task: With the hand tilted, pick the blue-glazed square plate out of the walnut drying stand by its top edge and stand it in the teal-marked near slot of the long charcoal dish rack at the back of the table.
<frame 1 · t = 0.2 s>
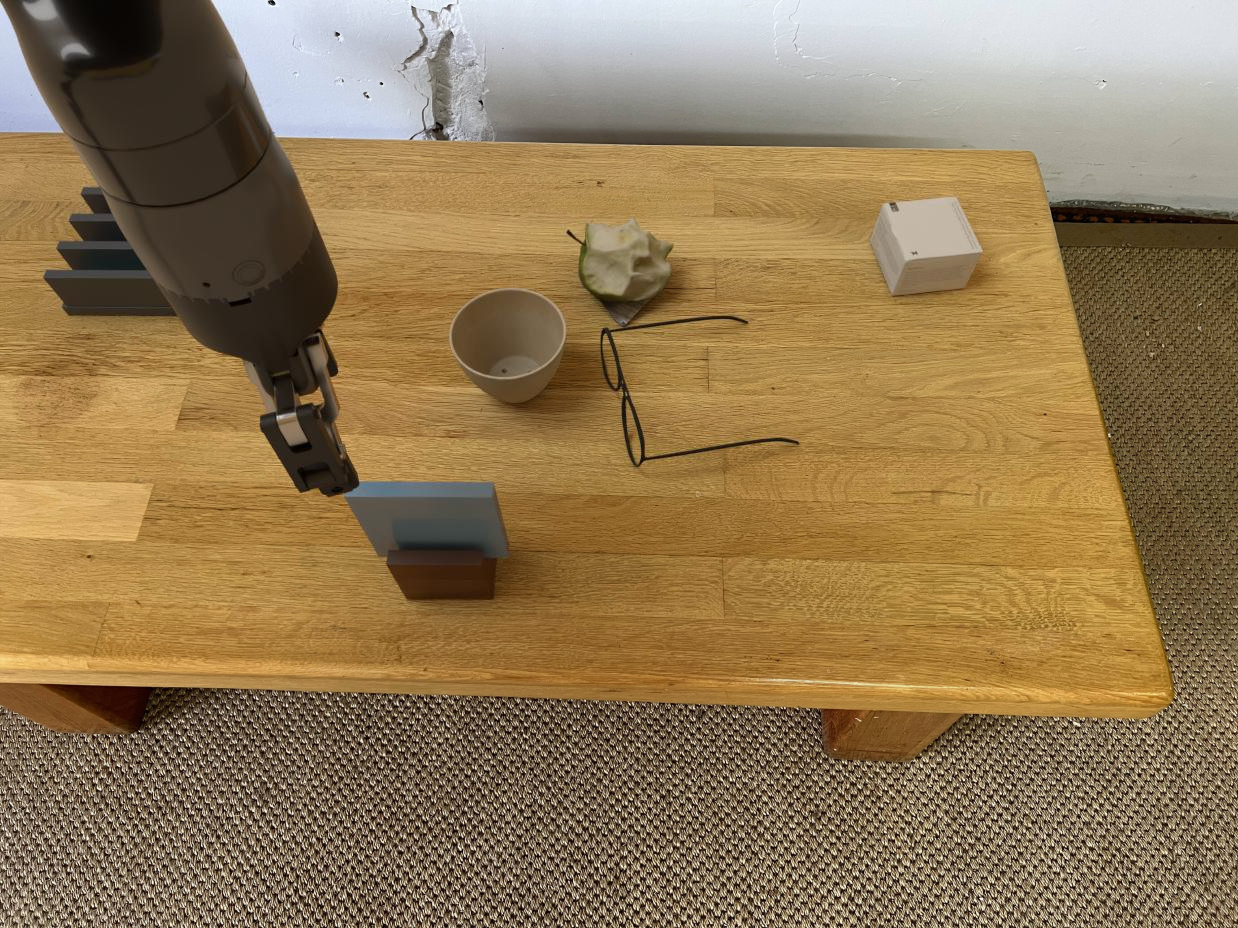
hand: (331, 429, 53), 21 cm above the table, tool pointing down, fingers open, 8 cm apart
flower pot: (516, 381, 80), on the table
plate: (444, 550, 67), point 4 cm above the table, touching stand
small box: (915, 265, 87), on the table
fruit: (621, 285, 86), on the table
glasses: (694, 398, 79), on the table
stand: (452, 570, 70), on the table
rack: (161, 242, 88), on the table
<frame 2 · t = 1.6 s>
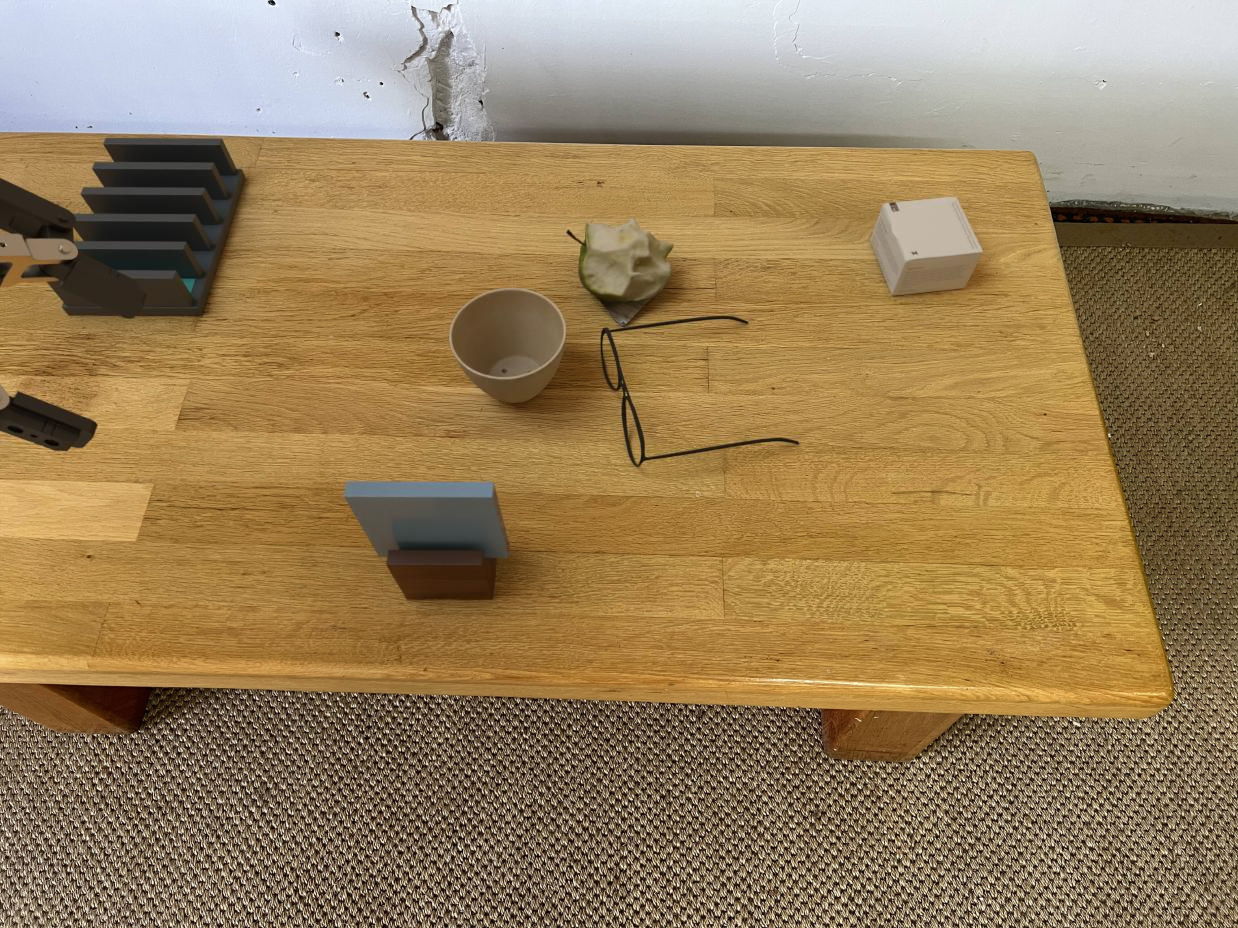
hand: (116, 369, 46), 28 cm above the table, tool tilted 45°, fingers open, 8 cm apart
nothing on the table moved.
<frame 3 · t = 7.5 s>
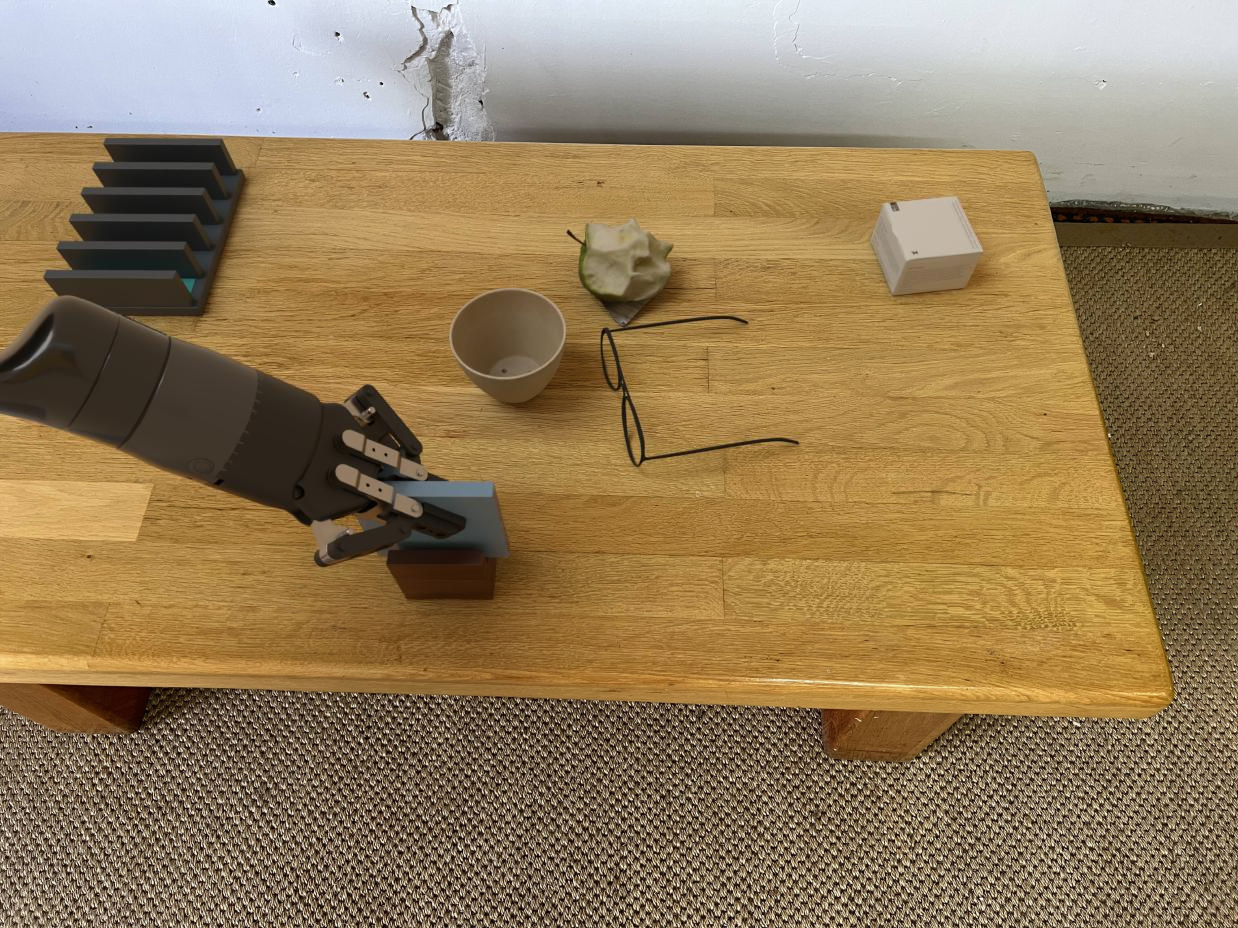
hand: (459, 516, 62), 10 cm above the table, tool tilted 45°, fingers closed on plate, 1 cm apart
plate: (444, 550, 67), point 4 cm above the table, touching gripper, stand
everything else where it was.
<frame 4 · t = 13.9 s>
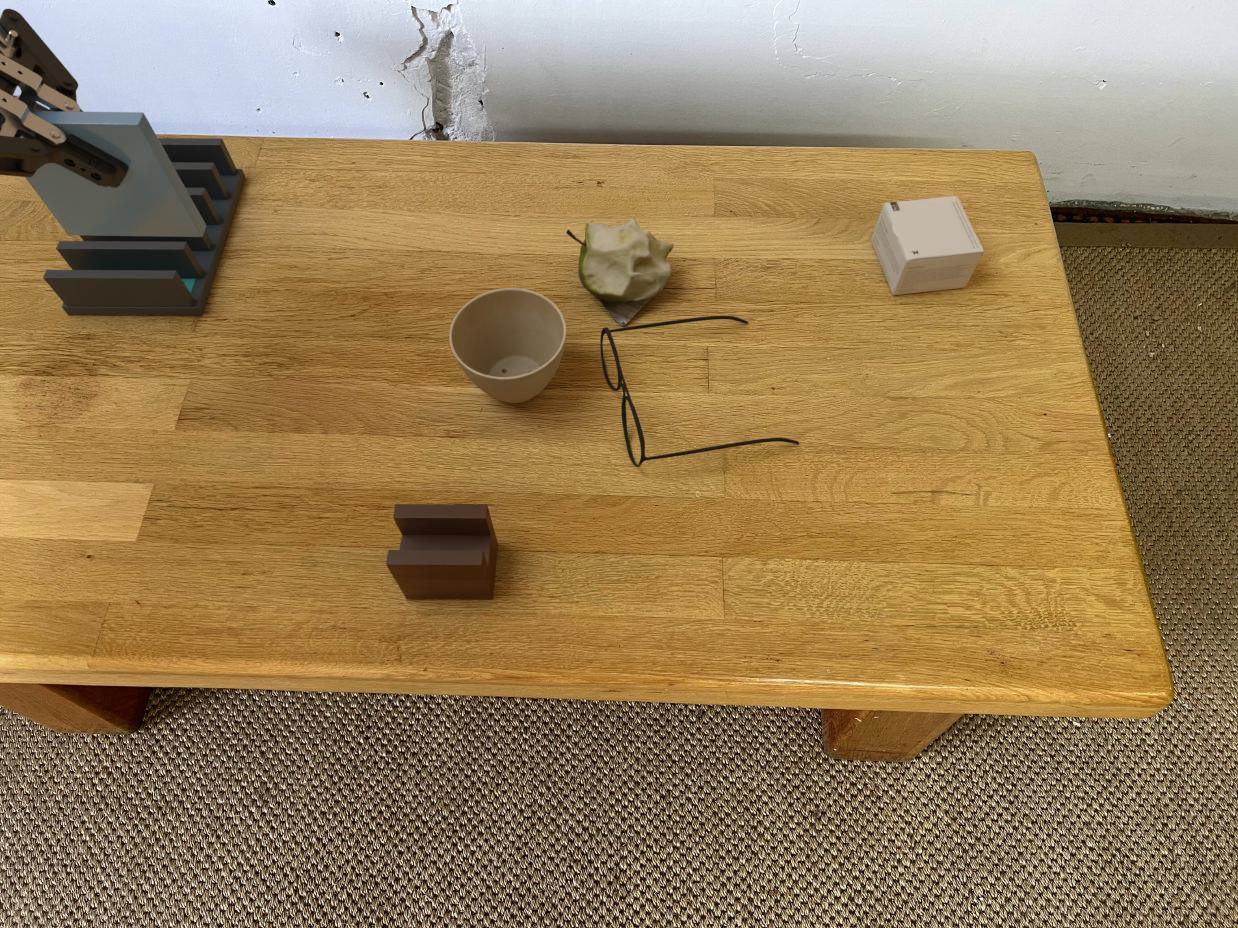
hand: (126, 168, 59), 24 cm above the table, tool tilted 45°, fingers closed on plate, 1 cm apart
plate: (137, 230, 64), point 18 cm above the table, touching gripper
everything else where it was.
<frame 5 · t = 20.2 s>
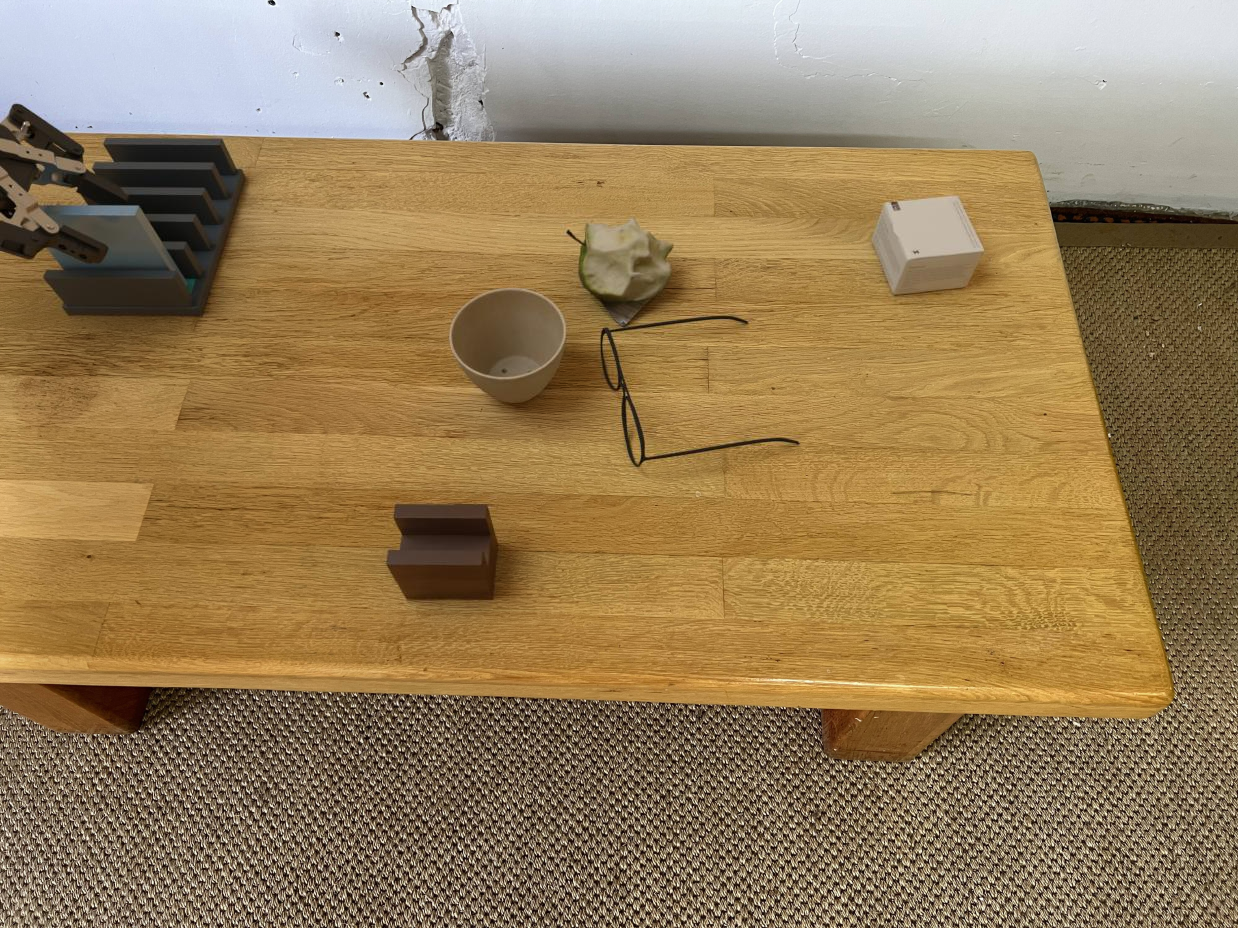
hand: (114, 230, 77), 9 cm above the table, tool tilted 45°, fingers open, 5 cm apart
plate: (135, 288, 84), point 1 cm above the table, touching rack
everything else where it was.
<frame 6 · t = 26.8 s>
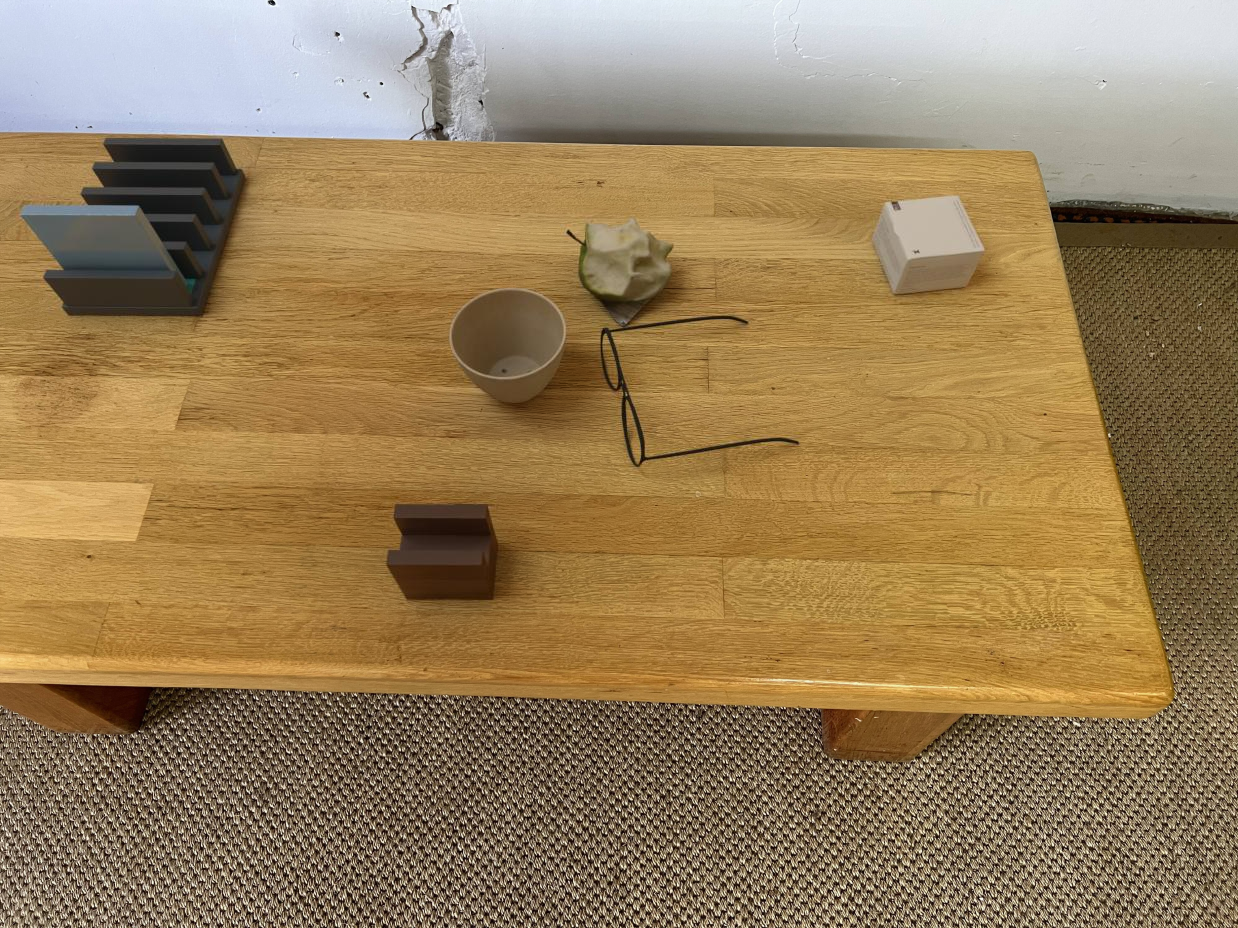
nothing on the table moved.
at the end: plate 0.0 cm from the target spot on the rack, point 1.3 cm above the rack's base; plate tilted 0°; the gripper is holding nothing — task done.
